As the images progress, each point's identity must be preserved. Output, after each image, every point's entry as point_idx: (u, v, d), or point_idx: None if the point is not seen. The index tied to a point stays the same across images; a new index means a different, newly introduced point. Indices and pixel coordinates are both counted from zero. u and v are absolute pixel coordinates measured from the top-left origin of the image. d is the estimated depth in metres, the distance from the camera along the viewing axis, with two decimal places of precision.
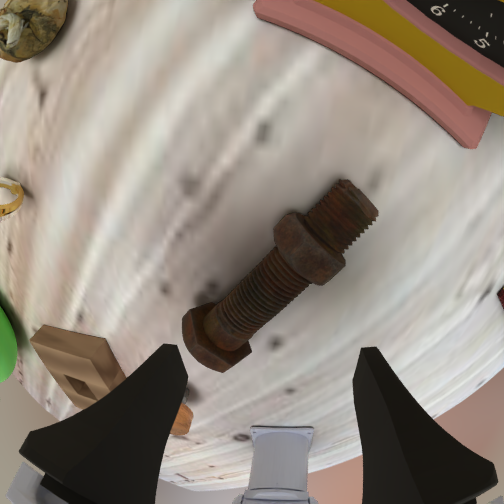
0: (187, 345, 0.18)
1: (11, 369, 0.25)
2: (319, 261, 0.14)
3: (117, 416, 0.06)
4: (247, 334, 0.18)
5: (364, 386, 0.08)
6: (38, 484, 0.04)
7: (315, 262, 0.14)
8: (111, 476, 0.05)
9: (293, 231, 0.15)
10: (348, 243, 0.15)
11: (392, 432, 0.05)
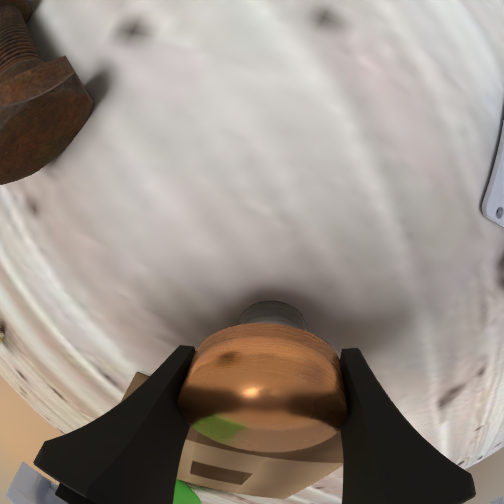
0: None
1: None
2: None
3: (137, 422, 0.06)
4: (0, 67, 0.05)
5: (344, 388, 0.08)
6: (38, 484, 0.04)
7: None
8: (132, 484, 0.05)
9: None
10: None
11: (366, 436, 0.05)
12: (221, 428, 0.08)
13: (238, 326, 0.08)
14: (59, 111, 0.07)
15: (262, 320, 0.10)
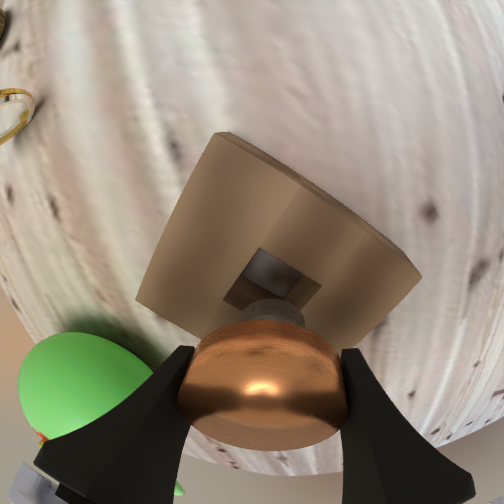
0: None
1: None
2: None
3: (137, 421, 0.06)
4: None
5: None
6: (38, 484, 0.04)
7: None
8: (132, 484, 0.05)
9: None
10: None
11: (366, 436, 0.05)
12: (220, 426, 0.08)
13: (240, 323, 0.08)
14: None
15: (263, 317, 0.10)
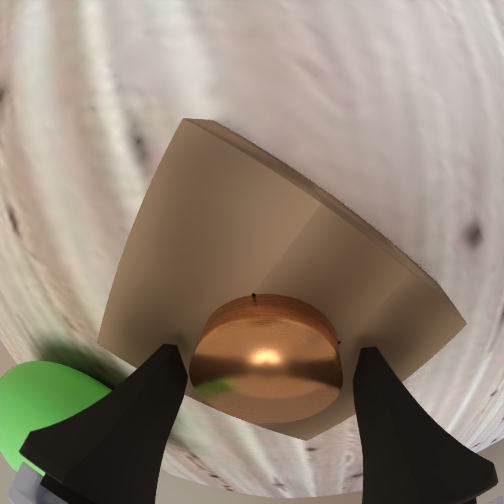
0: None
1: None
2: None
3: (117, 416, 0.06)
4: None
5: (364, 386, 0.08)
6: (38, 484, 0.04)
7: None
8: (111, 476, 0.05)
9: None
10: None
11: (392, 432, 0.05)
12: (227, 395, 0.10)
13: (246, 297, 0.10)
14: None
15: None
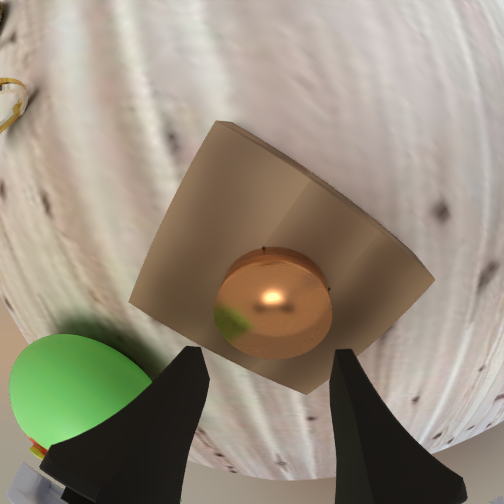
0: None
1: None
2: None
3: (145, 423, 0.06)
4: None
5: (337, 388, 0.08)
6: (38, 484, 0.04)
7: None
8: (141, 487, 0.05)
9: None
10: None
11: (357, 437, 0.05)
12: (242, 330, 0.13)
13: (258, 249, 0.13)
14: None
15: None
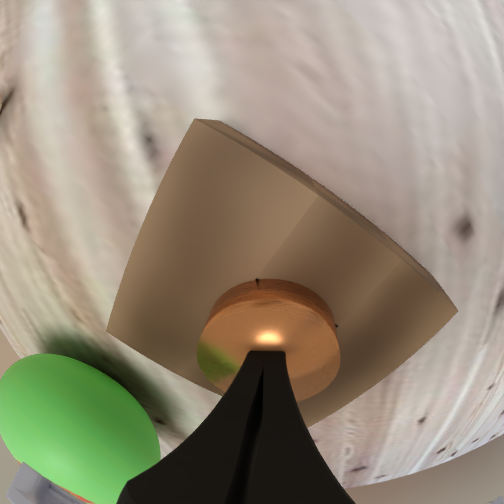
0: None
1: (142, 449, 0.15)
2: None
3: (234, 439, 0.06)
4: None
5: None
6: (38, 484, 0.04)
7: None
8: None
9: None
10: None
11: None
12: (232, 376, 0.10)
13: (250, 281, 0.11)
14: None
15: None
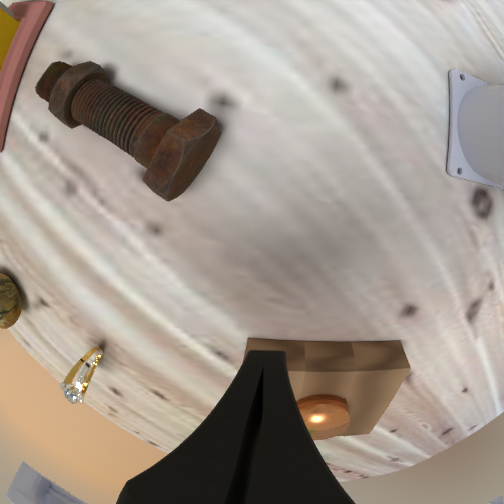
0: (160, 193, 0.14)
1: None
2: (56, 91, 0.12)
3: (234, 440, 0.06)
4: (142, 121, 0.13)
5: None
6: (38, 484, 0.04)
7: (57, 94, 0.12)
8: None
9: (56, 116, 0.13)
10: (59, 74, 0.12)
11: (259, 440, 0.06)
12: None
13: (297, 400, 0.21)
14: (208, 143, 0.15)
15: None
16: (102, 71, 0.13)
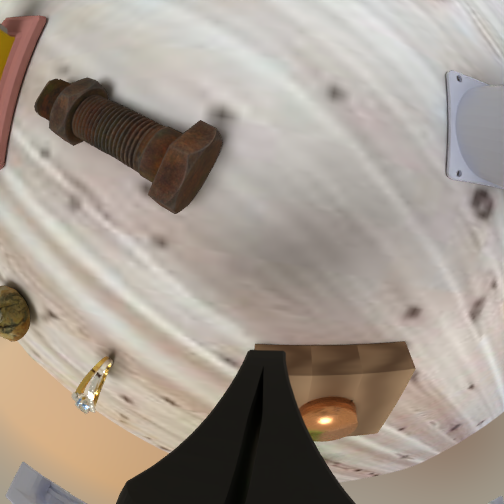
0: (166, 206, 0.14)
1: None
2: (56, 110, 0.12)
3: (234, 440, 0.06)
4: (144, 136, 0.13)
5: None
6: (38, 484, 0.04)
7: (57, 112, 0.12)
8: None
9: (57, 134, 0.14)
10: (57, 92, 0.13)
11: (259, 440, 0.06)
12: (316, 436, 0.21)
13: (306, 403, 0.21)
14: (211, 154, 0.15)
15: None
16: (100, 87, 0.14)
